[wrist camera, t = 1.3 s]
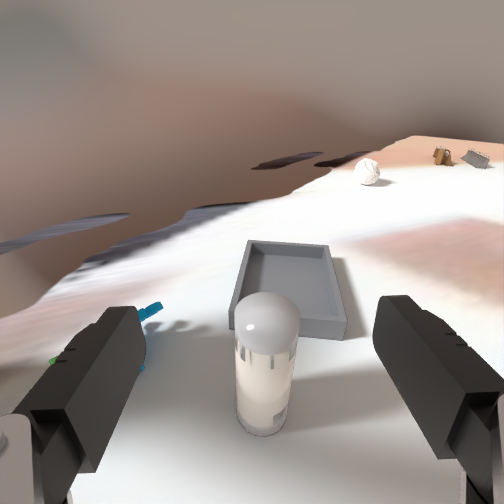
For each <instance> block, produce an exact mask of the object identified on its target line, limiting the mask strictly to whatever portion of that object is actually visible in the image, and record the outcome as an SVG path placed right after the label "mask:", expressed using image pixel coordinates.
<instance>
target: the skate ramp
mask: <svg viewBox="0 0 504 504" xmlns="http://www.w3.org/2000/svg"><path fill="white" fill-rule="evenodd" d="M443 148H444V147H443ZM471 150H472V149H471ZM446 151H449V150H447V149H446V148H444V149H442V148H441V147H440V148H439V149H438V148H437V147H436V150H435V153H434V157H435V158H436V160H435V162H434V164H439V165H440V162H441V163H442V164H444V165H445V166H453V165H452V163H451V156H450V151H449V155H448V154H447V152H446ZM476 151H477V150H476ZM478 152H479V151H478ZM480 153H481V152H480ZM482 154H483V153H482ZM483 155H484V154H483ZM484 156H485V155H484ZM488 158H489V157H488ZM461 159H462V160H464V161H466V162H467V163H469V164H470V165H472V166H474V167H475V168H482V169H486V167H487V164H488V162H489V159H490V158H489V159H487V158H485V157H483V156H482V155H481V154H480V155H479V154H477V153H476V152H475V151H474V152H473V150H472V151H470V150H468V152H467V154H466V155H465V156H463V157H462V158H461Z"/></svg>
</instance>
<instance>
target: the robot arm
mask: <svg viewBox="0 0 504 504" xmlns="http://www.w3.org/2000/svg"><path fill="white" fill-rule="evenodd" d="M373 344H374V348H375V351H376V353H377V355H378V356H379V358H380V360H381V361H382V363H383V365H384V367H385V368H386V370H387V372H388V374H389V375H390V377H391V379H392V380H393V382H394V384H395V386H396V387H397V389H398V391H399V393H400V394H401V396H402V398H403V400H404V401H405V403H406V405H407V406H408V408H409V410H410V412H411V413H412V415H413V417H414V419H415V420H416V422H417V424H418V426H419V427H420V429H421V431H422V432H423V434H424V436H425V438H426V439H427V441H428V443H429V445H430V446H431V448H432V450H433V452H434V453H435V455H436V457H437V458H438V459H456V458H457V459H458V461H459V462H460V464H461V466H462V467H463V471H462V473H461V478H460V504H504V379H503V378H502V377H501V376H500V375H499V374H498V373H497V372H496V371H495V370H494V369H493V368H492V367H491V366H490V365H489V364H488V363H487V362H486V361H485V360H484V359H483V358H482V357H481V356H480V355H479V354H477V353H476V352H475V351H474V350H473V349H472V348H471V347H468V345H467V343H466V342H465V341H464V340H463V339H462V338H461V337H460V336H457V334H456V332H455V331H454V330H453V329H452V328H451V327H450V326H449V325H448V324H447V323H446V322H445V321H444V320H442V319H441V318H439V317H437V316H436V315H434V314H432V313H431V312H429V311H427V310H422V309H421V308H420V307H419V306H418V305H417V304H416V303H415V302H414V301H413V300H412V299H411V298H410V297H409V296H408V295H393V296H382V297H380V299H379V302H378V307H377V312H376V318H375V323H374V328H373ZM145 354H146V342H145V338H144V334H143V330H142V326H141V323H140V319H139V315H138V311H137V309H136V307H135V306H120V307H109V308H107V309H106V310H105V312H104V313H103V314H102V316H101V317H100V318H99V320H98V321H97V322H96V323H91V324H90V325H89V326H87V327H86V328H85V329H83V330H82V331H80V332H79V333H78V334H76V335H75V336H74V338H73V339H72V340H71V341H70V342H69V344H68V345H67V346H66V347H65V349H64V352H61V353H60V355H59V356H58V357H57V358H56V360H55V363H54V364H51V366H50V367H49V368H48V369H47V371H46V372H45V373H44V374H43V375H42V377H41V378H40V379H39V380H38V382H37V383H36V384H35V385H34V386H33V388H32V389H31V390H30V391H29V393H28V394H27V395H26V396H25V397H24V399H23V400H22V401H21V402H20V404H19V405H18V406H17V407H16V408H15V410H14V411H13V412H12V413H11V414H9V415H4V416H1V417H0V504H73V499H72V494H71V491H70V487H71V485H72V483H73V481H74V479H75V477H76V475H77V474H78V473H95V472H96V470H97V468H98V466H99V463H100V461H101V459H102V456H103V454H104V452H105V450H106V447H107V445H108V443H109V440H110V438H111V436H112V433H113V431H114V429H115V427H116V424H117V422H118V420H119V417H120V415H121V413H122V410H123V408H124V406H125V404H126V401H127V399H128V397H129V394H130V392H131V390H132V387H133V385H134V383H135V381H136V378H137V376H138V374H139V371H140V369H141V367H142V364H143V362H144V359H145Z"/></svg>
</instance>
